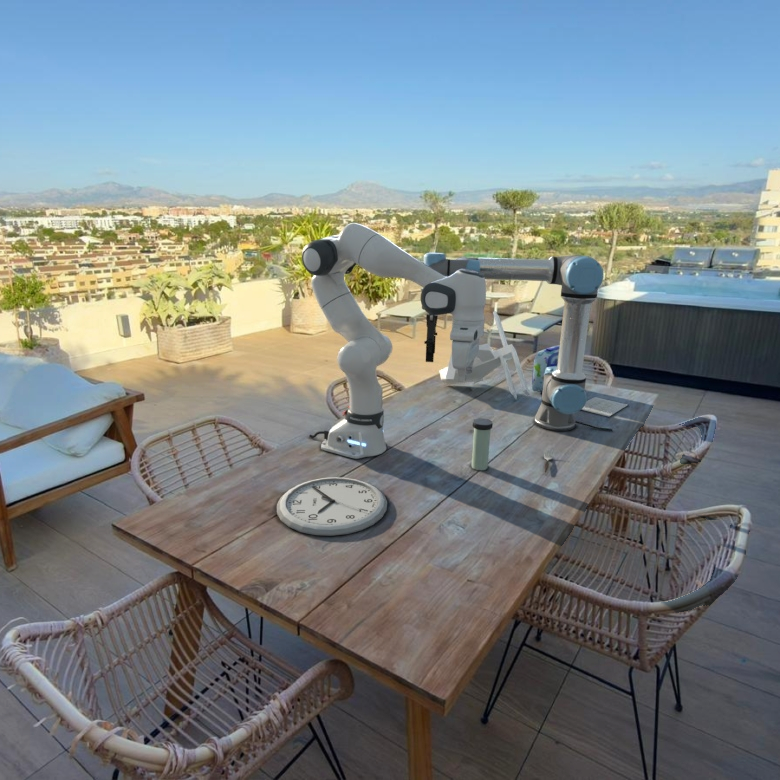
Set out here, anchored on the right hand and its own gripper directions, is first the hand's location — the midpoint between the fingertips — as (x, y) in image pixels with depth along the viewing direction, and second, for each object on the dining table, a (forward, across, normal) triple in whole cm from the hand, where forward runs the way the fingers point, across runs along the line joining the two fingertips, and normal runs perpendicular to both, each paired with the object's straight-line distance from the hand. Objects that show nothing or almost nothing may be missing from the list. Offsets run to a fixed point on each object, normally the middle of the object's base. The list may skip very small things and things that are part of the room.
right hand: (430, 357), depth 190 cm
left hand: (-4, +39, +12) cm, 41 cm away
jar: (+28, +30, +18) cm, 45 cm away
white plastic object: (+28, -50, +22) cm, 61 cm away
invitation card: (+28, -38, +73) cm, 87 cm away
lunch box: (+28, -59, +56) cm, 86 cm away
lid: (+13, +30, +18) cm, 37 cm away
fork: (+28, +25, +40) cm, 55 cm away
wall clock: (+28, +61, -23) cm, 71 cm away
